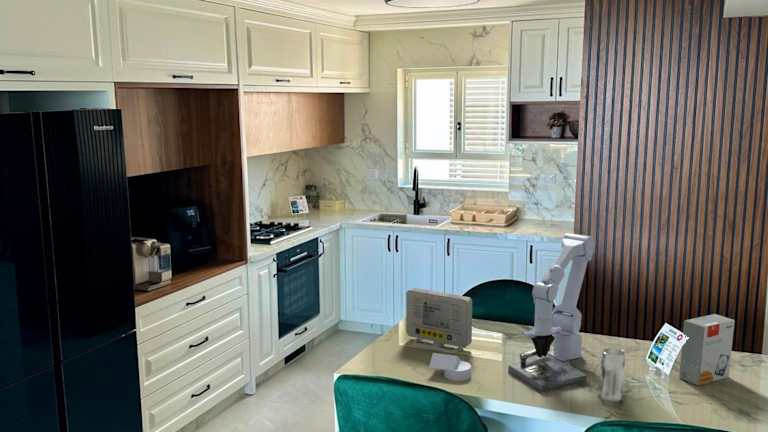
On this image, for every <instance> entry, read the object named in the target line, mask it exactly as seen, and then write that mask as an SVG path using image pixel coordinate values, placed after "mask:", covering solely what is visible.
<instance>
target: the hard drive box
mask: <svg viewBox="0 0 768 432" xmlns="http://www.w3.org/2000/svg"><path fill="white" fill-rule="evenodd" d="M735 322H736V321H735V319H732V318H729V317H726V316H723V315H719V314H716V313H713V314H709V315H704V316H699V317H694V318H690V319H685V320H684V322H683V329H682V330H683V332H682V335H683V334H684V335H686V336H687V337H689V339H688V340H686V343H685V344H684V345H683V346H682V345H681V350H680V351H681V353H680V360H679V361H680V363H679V372H678V378H679V379H681V380H684V381H686V382H688V383H691V384H693V385H695V386H701V385H707V384H709V383H713V382H716V381H720V380H723V379H727V378H730V367H731V360H732V359H731V358H732V349H733V341H734V340H733V339H734V331H735ZM686 336H685V337H686Z"/></svg>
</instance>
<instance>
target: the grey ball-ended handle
mask: <svg viewBox="0 0 768 432" xmlns="http://www.w3.org/2000/svg"><path fill="white" fill-rule="evenodd" d="M548 352H551V347H550V348H549V351H548ZM535 356H537V355H536V350H535V348H533V349H531V350H529V351H526V352H521V353H519V359H520V360H521V359H522V360H526V361H527V359H529V358H532V357H535Z"/></svg>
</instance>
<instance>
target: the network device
mask: <svg viewBox="0 0 768 432" xmlns="http://www.w3.org/2000/svg"><path fill="white" fill-rule="evenodd" d="M405 295H406V296H405V298H406V299H405V302H406V303H405V306H406V308H405V312H406V313H405V314H406V315H405V318H406V321H405V322H406V323H405V325H406V326H405V328H406V329H405V331H406V335H407V336H409V337H411V338H415V339H414V340H413V341H412V344H413V345H414V346H418V347H422V348H427V349H431V350H434V351H440V352H445V353H449V354H455V352H456V353H458V351H459V352H460V351H462V350H463V349H464V348H467V347H468V346H470V345H471V344H472V342H473V341H472V340H473V339H472V338H473V337H472V336H473V333H472V332H473V300H472V298H471V297H470V296H463V295H460V294H452V293H448V292H447V293H446V292H441V291H434V290H429V289H424V288H416V287H413V288H411V289H408V290H407V291H406V292H405ZM422 340H425V341H430V342H433V343H432V344H425V343H419V342H420V341H422ZM443 345H449V346H454V347H457V348H455V349H453V350H452V349H447V348H441V347H442V346H443ZM462 348H463V349H462ZM461 349H462V350H461Z"/></svg>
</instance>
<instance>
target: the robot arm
mask: <svg viewBox="0 0 768 432" xmlns="http://www.w3.org/2000/svg"><path fill="white" fill-rule="evenodd" d="M595 247H596V245H595V240H594V237H593V236H592V235H585V234H577V233H572V232H571V233H570V232H566V233H565V234H564V235H563V237H562V239H561V250H560V253H559V254H558V257H557V259H556V261H555V263H554V265H550V266H549V267H548V269H547V270H546V272H545V274H544V275H543V276H542V278H541V280H540V281H539V282H537V283H535V284H534V285H533V287H532V291H531V293H532V294H531V295H532V297H533V304H534V327H533V328H532V329H529V330H527V331H523V339H525V340H530V339H531V341H532V343H533V346H534V349H535V350H536V355H535V356H536V357H538V358H543V357H548V355H549V356H552V357H554V358H556V359H558V360H560V361H562V362H565V361H570V360H574V359H579V358H583V354H582V346H583V345H582V344H583V343H582V342H583V339H582V338H583V337H582V334H581V333H580V332H579V331H580V330H581V326H582V316H583V315H582V313H581V311H580V310H579V309H578V308H577V304H578V300H579V296H580V292H581V289H582V284H583V281H584V277H585V272H586V269H587V266H588V262H590V261H591V260H592V258H593V254H594V251H595ZM571 261H572V262H571ZM570 262H571V266H570V269H569V273H568V277H567V281H566V285H565V289H564V291H563V297H562V300H561V303H560V304H558V305H556V306H554V307H553V305H554V301H555V299H557V295H558V291H559V286H560V284H561V282H562V280H563V279H564V277H565V270H566V268H567V266H568V265H569V264H570ZM552 344H553V349H552V350H553V351H549V348H550V349H551V346H552Z"/></svg>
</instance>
